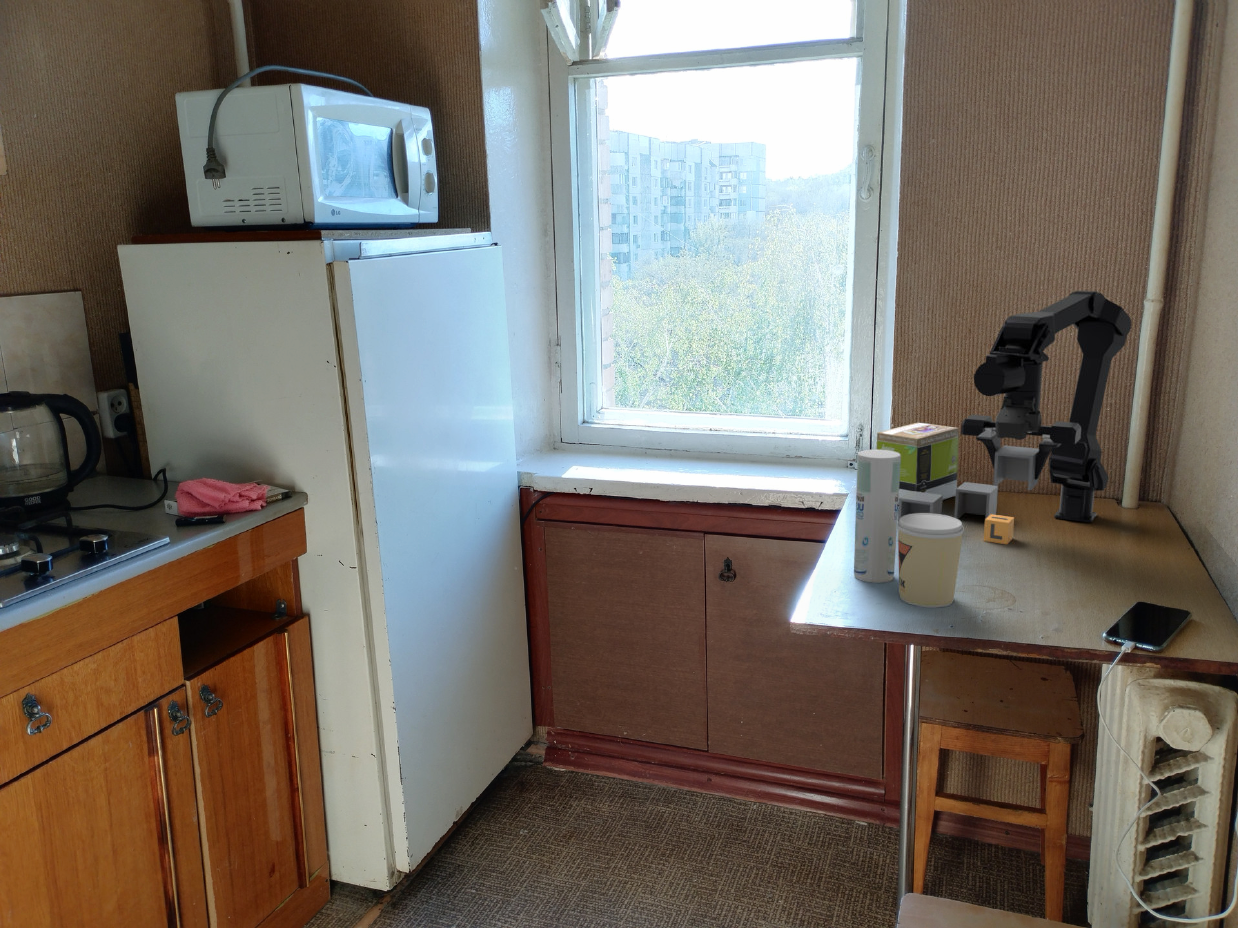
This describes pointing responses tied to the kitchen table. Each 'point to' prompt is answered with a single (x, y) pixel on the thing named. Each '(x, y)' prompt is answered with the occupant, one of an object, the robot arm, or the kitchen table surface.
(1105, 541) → the kitchen table surface
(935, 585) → the coffee cup
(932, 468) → the tea box
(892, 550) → the spray can
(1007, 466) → the grey bracket
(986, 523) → the orange cube
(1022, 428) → the robot arm
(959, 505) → the open box
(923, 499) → the grey u-shaped block
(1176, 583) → the kitchen table surface
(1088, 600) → the kitchen table surface
